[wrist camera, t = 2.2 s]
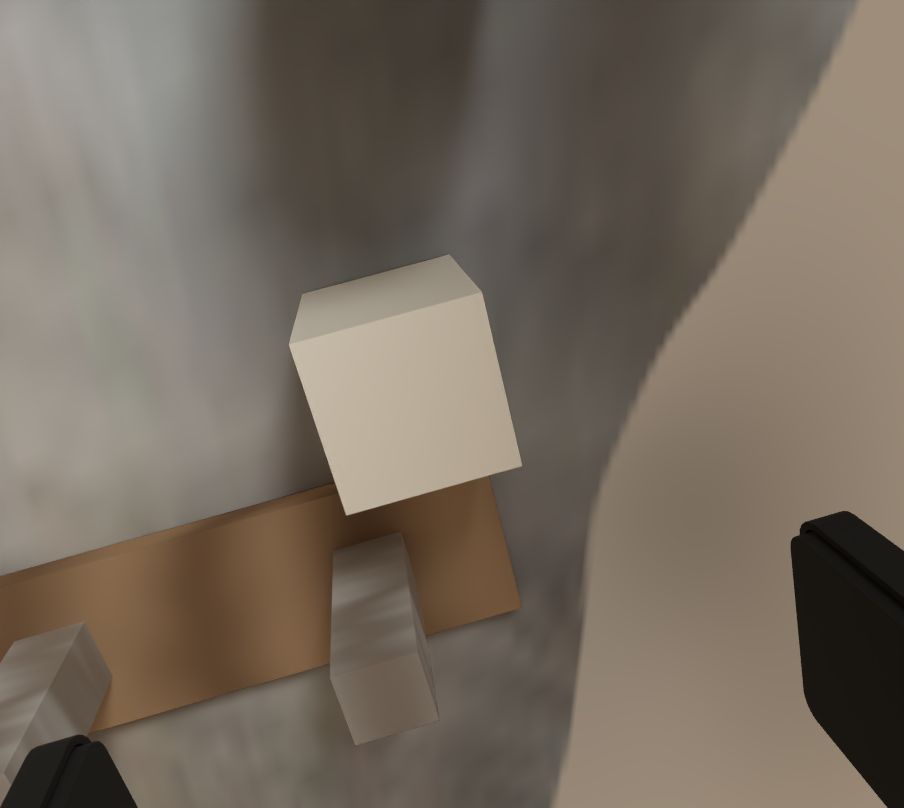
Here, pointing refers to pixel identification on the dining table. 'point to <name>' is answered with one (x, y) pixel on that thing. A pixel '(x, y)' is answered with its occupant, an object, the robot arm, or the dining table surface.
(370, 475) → the cream rectangular block
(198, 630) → the post strip
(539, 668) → the dining table surface
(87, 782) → the robot arm
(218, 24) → the dining table surface
